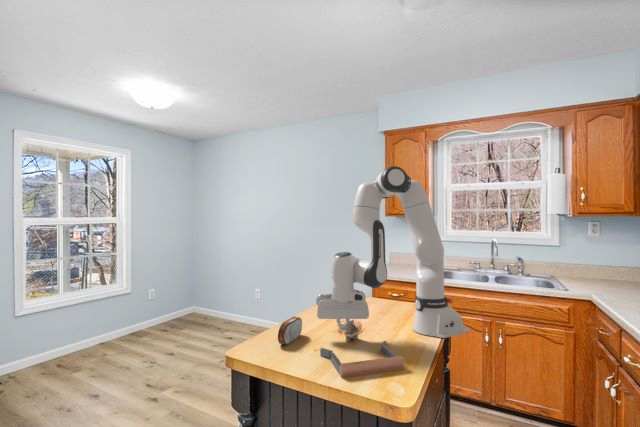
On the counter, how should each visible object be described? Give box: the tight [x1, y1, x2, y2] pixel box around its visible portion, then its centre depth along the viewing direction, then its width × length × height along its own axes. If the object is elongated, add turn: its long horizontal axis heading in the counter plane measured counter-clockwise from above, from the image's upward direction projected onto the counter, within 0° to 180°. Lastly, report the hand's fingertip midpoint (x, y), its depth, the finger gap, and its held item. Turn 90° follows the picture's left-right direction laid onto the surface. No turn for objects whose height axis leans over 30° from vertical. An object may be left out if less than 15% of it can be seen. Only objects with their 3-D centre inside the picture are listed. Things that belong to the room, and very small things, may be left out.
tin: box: [277, 315, 303, 346], centre depth 126 cm, size 15×3×8 cm, turn 155°
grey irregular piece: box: [344, 319, 362, 343], centre depth 125 cm, size 3×7×7 cm, turn 143°
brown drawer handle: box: [319, 340, 404, 379], centre depth 108 cm, size 25×17×4 cm
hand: (342, 329), depth 127 cm, fingers closed
